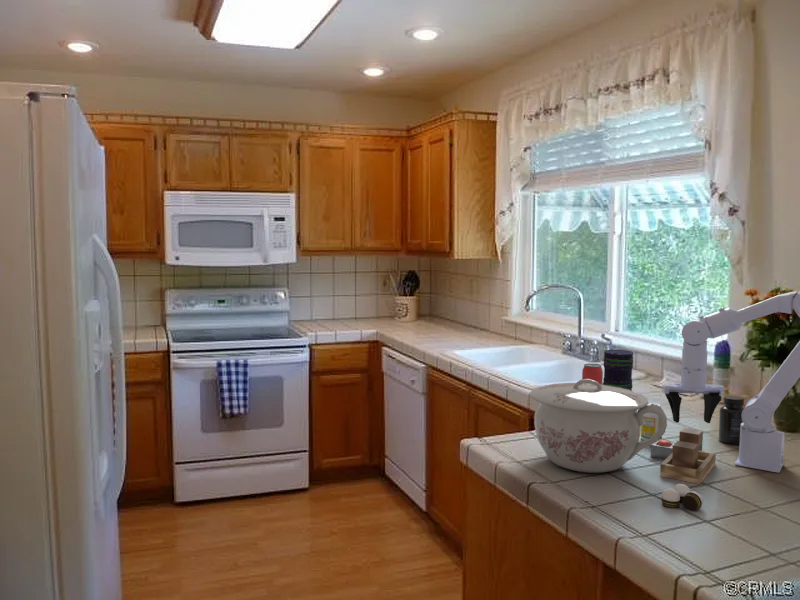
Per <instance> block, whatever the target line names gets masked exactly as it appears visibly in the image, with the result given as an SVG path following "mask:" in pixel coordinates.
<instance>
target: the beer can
mask: <svg viewBox="0 0 800 600" xmlns="http://www.w3.org/2000/svg"><path fill="white" fill-rule="evenodd" d="M581 372H582V373H581V377H582V378H581V380H582V379H590V380H594V381H596V382H598V383H599V384H603V378H604V370H603V368H602V365H601V364H599V363H593V362H592V363H585V364H584V365H583V367H582V371H581Z"/></svg>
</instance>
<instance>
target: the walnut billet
mask: <svg viewBox="0 0 800 600" xmlns="http://www.w3.org/2000/svg"><path fill="white" fill-rule="evenodd" d="M674 443H675V444H674V445H673V454H672V465H675V466H681V467H686V468H691V469H696V470H697V467H698V444H694V443H688V442H682V441H679V440H677V441H676V442H674Z"/></svg>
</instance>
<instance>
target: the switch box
mask: <svg viewBox="0 0 800 600" xmlns="http://www.w3.org/2000/svg"><path fill="white" fill-rule="evenodd" d="M658 441H659V440H658ZM658 441H657V442H655V443H653V444H651V445H650V457H651V458H658V459H662V460H665V459H666V458H667V457H668V456H669V455H670V454H671V453H673V445H674V444H675V443H676V442H671V441H670V447H666V446H661V445H658Z"/></svg>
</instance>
